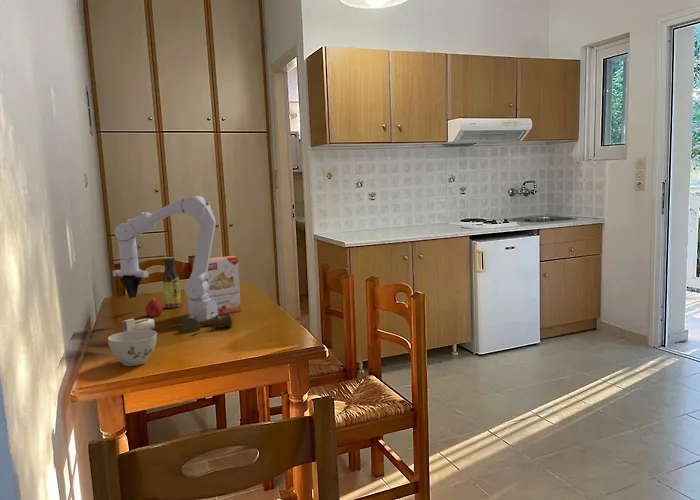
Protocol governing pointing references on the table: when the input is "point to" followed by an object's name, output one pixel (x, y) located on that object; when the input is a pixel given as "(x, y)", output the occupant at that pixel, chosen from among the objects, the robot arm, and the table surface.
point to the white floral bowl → (133, 346)
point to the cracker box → (224, 284)
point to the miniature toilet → (138, 324)
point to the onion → (153, 308)
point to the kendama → (202, 322)
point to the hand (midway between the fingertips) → (132, 297)
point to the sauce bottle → (171, 284)
